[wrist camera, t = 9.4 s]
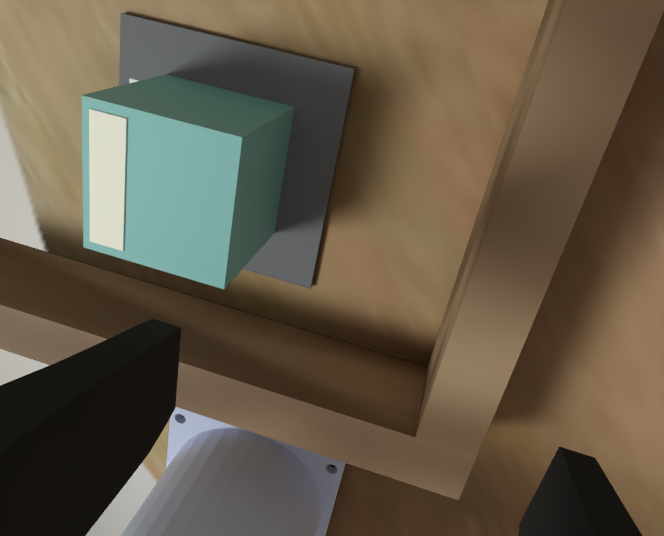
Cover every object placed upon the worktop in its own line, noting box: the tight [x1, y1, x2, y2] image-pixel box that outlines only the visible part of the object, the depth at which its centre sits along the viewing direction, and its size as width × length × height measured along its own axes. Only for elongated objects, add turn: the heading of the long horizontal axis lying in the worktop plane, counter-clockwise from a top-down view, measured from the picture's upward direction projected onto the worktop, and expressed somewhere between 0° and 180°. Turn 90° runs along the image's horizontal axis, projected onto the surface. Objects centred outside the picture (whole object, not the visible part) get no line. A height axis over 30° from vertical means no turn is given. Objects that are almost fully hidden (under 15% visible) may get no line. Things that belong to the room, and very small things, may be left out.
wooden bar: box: [0, 238, 477, 500], centre depth 22 cm, size 2×22×4 cm, turn 79°
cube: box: [82, 74, 295, 289], centre depth 18 cm, size 5×5×5 cm
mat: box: [119, 13, 355, 288], centre depth 20 cm, size 8×8×1 cm
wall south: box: [415, 0, 664, 457], centre depth 17 cm, size 18×2×4 cm, turn 169°
